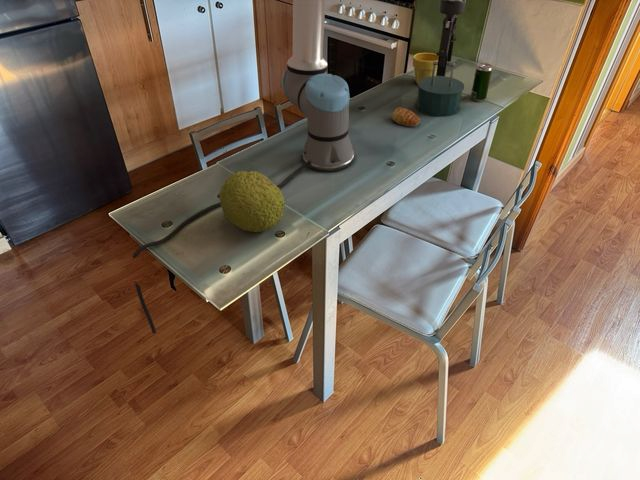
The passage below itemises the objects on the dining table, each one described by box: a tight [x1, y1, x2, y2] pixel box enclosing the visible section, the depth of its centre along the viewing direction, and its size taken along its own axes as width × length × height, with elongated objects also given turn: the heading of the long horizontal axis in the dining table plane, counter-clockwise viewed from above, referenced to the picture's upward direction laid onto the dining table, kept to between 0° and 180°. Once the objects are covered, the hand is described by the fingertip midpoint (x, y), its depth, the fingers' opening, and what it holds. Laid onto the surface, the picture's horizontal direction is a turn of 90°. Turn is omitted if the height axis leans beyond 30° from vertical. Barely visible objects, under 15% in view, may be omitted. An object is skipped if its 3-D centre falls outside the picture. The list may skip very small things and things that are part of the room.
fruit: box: [219, 170, 286, 233], centre depth 112 cm, size 16×14×15 cm
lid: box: [417, 61, 465, 95], centre depth 157 cm, size 15×15×9 cm
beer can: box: [470, 62, 493, 103], centre depth 165 cm, size 5×5×12 cm
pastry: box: [391, 107, 421, 127], centre depth 155 cm, size 9×7×4 cm
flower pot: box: [412, 52, 439, 85], centre depth 179 cm, size 10×10×10 cm
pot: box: [416, 88, 463, 117], centre depth 162 cm, size 14×14×8 cm
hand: (443, 68), depth 156 cm, fingers open, 13 cm apart
